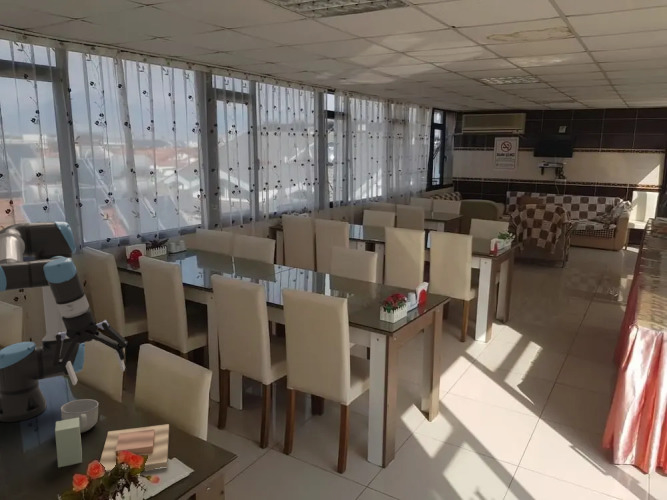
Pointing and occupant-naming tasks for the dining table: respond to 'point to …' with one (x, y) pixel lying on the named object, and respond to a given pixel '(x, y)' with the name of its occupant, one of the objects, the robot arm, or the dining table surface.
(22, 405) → the robot arm
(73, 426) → the pillar block
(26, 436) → the dining table surface
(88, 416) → the teacup
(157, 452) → the stand
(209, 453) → the dining table surface
